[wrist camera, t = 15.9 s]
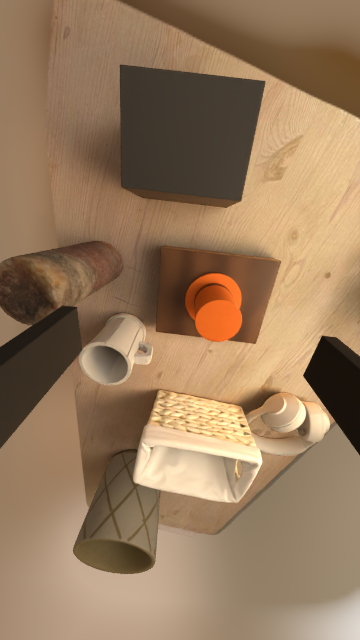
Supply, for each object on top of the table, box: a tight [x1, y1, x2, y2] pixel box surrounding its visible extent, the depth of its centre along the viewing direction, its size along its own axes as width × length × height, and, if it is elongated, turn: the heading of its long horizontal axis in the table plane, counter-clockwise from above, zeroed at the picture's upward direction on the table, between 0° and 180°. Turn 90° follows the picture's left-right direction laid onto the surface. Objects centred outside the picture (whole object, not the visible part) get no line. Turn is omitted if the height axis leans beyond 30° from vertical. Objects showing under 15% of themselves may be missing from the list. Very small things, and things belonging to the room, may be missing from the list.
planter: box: [73, 450, 160, 574], centre depth 56 cm, size 19×19×20 cm
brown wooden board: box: [156, 246, 281, 344], centre depth 39 cm, size 20×16×3 cm
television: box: [120, 65, 265, 208], centre depth 27 cm, size 14×10×11 cm
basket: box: [133, 390, 262, 503], centre depth 48 cm, size 24×16×15 cm
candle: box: [0, 241, 123, 325], centre depth 30 cm, size 8×7×20 cm
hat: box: [185, 273, 242, 342], centre depth 33 cm, size 10×10×9 cm
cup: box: [79, 313, 153, 385], centre depth 39 cm, size 10×9×12 cm
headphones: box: [245, 392, 330, 456], centre depth 50 cm, size 18×8×20 cm
